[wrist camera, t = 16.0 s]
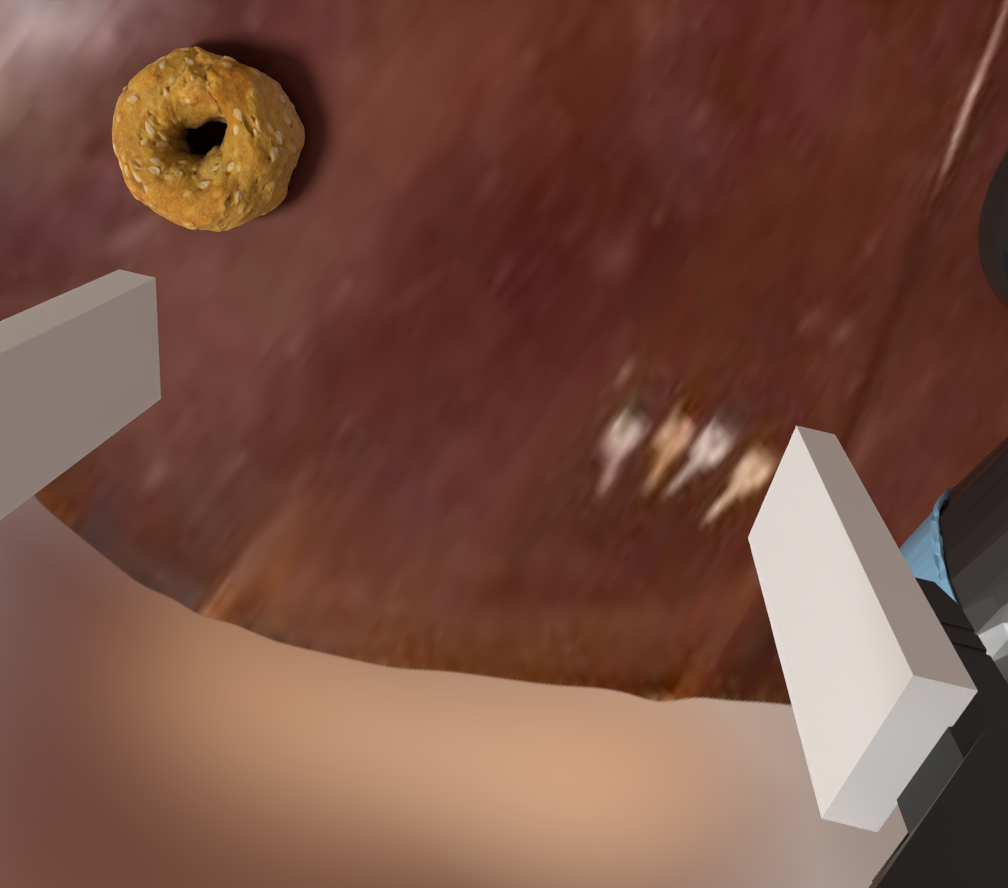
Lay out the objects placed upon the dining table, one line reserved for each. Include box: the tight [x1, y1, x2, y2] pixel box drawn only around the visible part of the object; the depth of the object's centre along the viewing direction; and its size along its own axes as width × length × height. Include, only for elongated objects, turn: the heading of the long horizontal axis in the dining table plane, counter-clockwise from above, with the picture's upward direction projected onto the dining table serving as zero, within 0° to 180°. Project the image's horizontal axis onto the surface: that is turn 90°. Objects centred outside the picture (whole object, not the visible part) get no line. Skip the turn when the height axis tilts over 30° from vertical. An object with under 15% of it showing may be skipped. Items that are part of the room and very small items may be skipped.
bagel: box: [112, 46, 305, 232], centre depth 43 cm, size 10×11×5 cm
